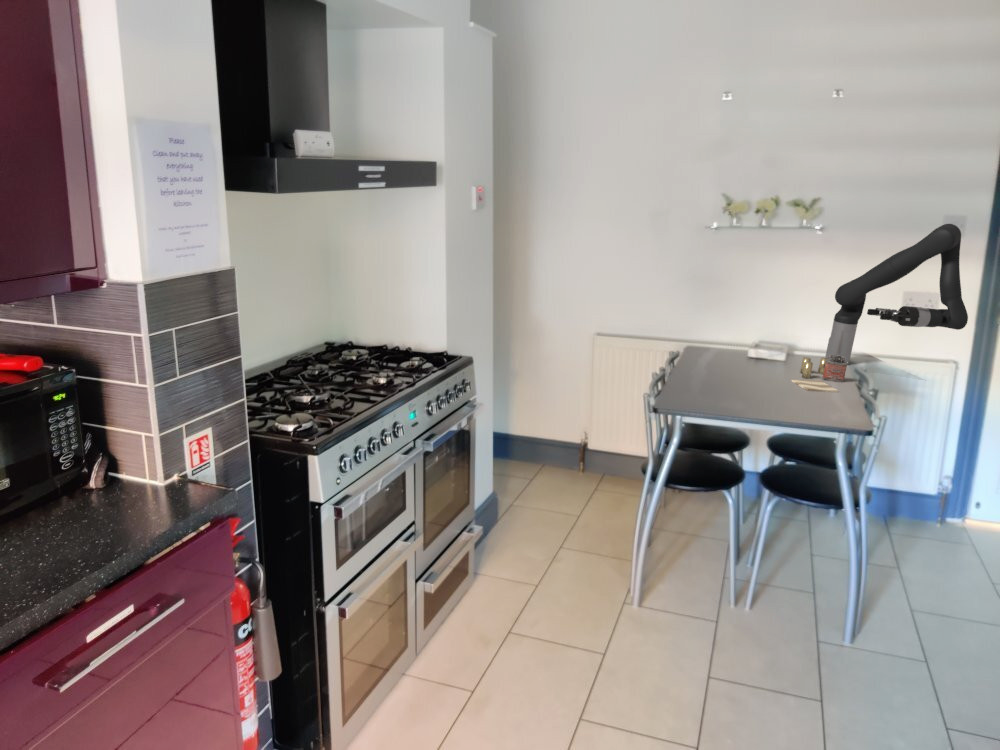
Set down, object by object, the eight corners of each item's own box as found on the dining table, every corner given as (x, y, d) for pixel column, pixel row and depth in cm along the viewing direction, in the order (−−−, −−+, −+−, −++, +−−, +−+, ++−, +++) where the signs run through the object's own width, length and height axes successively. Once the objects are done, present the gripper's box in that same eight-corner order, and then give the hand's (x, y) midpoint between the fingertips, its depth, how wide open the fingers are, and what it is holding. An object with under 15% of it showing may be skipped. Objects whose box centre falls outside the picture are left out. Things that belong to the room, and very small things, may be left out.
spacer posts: (790, 370, 321) (793, 355, 319) (823, 372, 323) (826, 357, 321) (804, 378, 310) (807, 363, 309) (838, 380, 312) (841, 365, 311)
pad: (791, 381, 305) (791, 379, 305) (821, 382, 307) (821, 381, 306) (807, 390, 293) (807, 389, 293) (838, 392, 295) (838, 390, 295)
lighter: (842, 380, 313) (847, 355, 310) (844, 383, 310) (850, 357, 307) (820, 378, 313) (826, 352, 311) (823, 380, 310) (828, 355, 308)
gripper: (904, 303, 314) (865, 300, 312) (927, 310, 301) (887, 308, 298) (900, 322, 316) (861, 319, 314) (923, 330, 303) (883, 328, 300)
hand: (874, 314), depth 306 cm, fingers open, 8 cm apart
